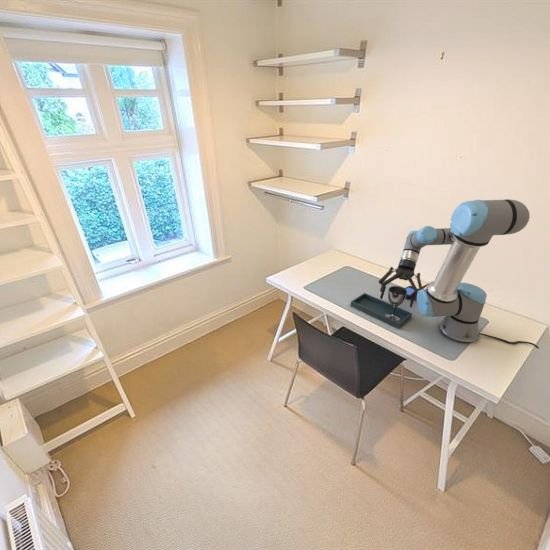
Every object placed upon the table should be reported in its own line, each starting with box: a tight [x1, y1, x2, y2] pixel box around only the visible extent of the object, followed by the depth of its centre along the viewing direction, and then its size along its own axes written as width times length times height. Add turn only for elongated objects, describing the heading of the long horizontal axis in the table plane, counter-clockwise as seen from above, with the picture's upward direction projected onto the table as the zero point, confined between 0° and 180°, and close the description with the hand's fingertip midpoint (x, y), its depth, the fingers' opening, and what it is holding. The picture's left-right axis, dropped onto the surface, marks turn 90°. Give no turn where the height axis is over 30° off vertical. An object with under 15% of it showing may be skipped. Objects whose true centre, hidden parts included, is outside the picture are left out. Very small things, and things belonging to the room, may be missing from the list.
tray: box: [350, 292, 413, 329], centre depth 156 cm, size 27×12×3 cm, turn 42°
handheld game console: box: [403, 282, 430, 300], centre depth 169 cm, size 12×11×7 cm
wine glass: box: [385, 285, 407, 321], centre depth 148 cm, size 8×8×15 cm
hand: (395, 302), depth 147 cm, fingers open, 13 cm apart
